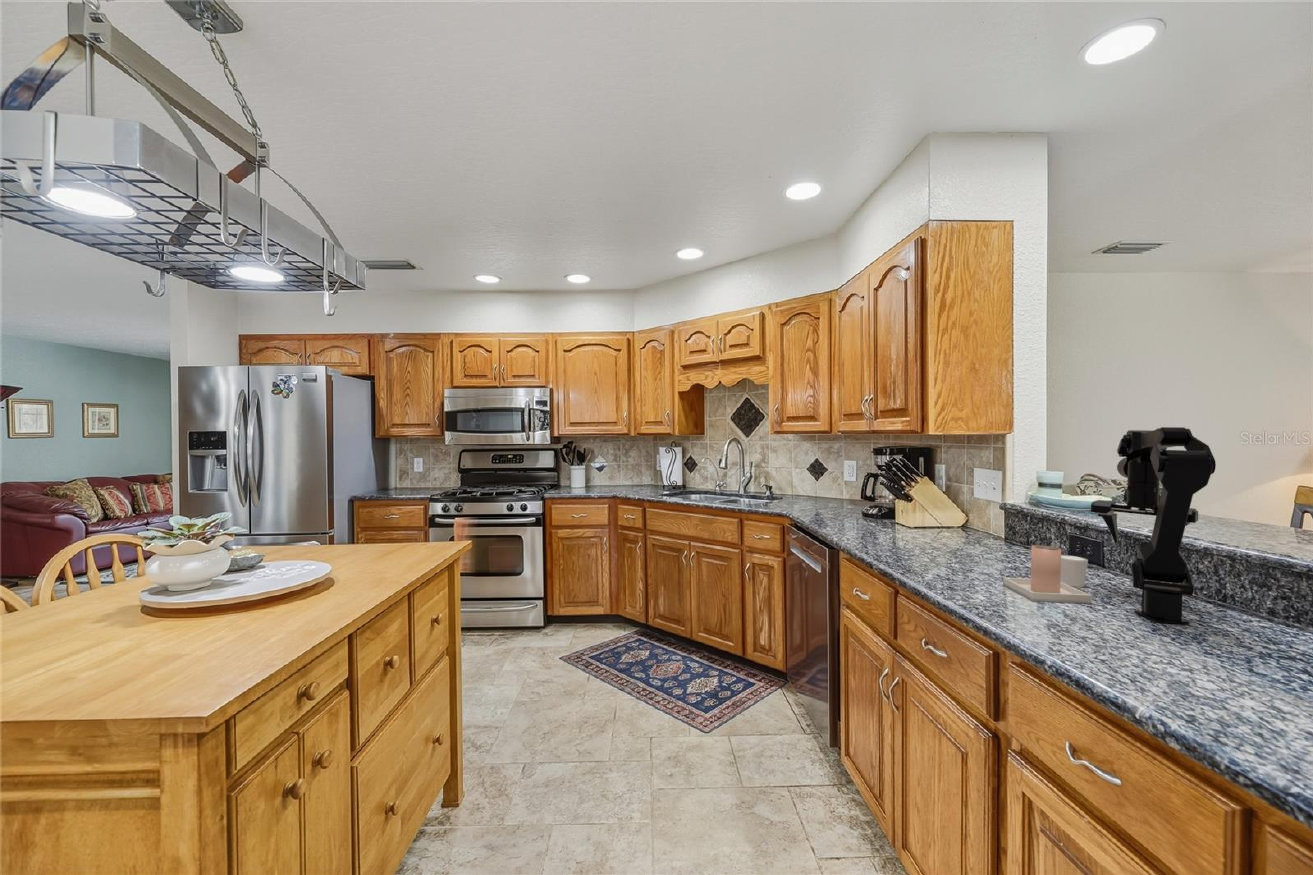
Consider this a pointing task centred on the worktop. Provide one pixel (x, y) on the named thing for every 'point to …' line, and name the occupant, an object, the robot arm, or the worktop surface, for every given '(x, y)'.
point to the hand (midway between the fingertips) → (1141, 546)
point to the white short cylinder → (1073, 570)
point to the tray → (1065, 595)
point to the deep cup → (1045, 569)
